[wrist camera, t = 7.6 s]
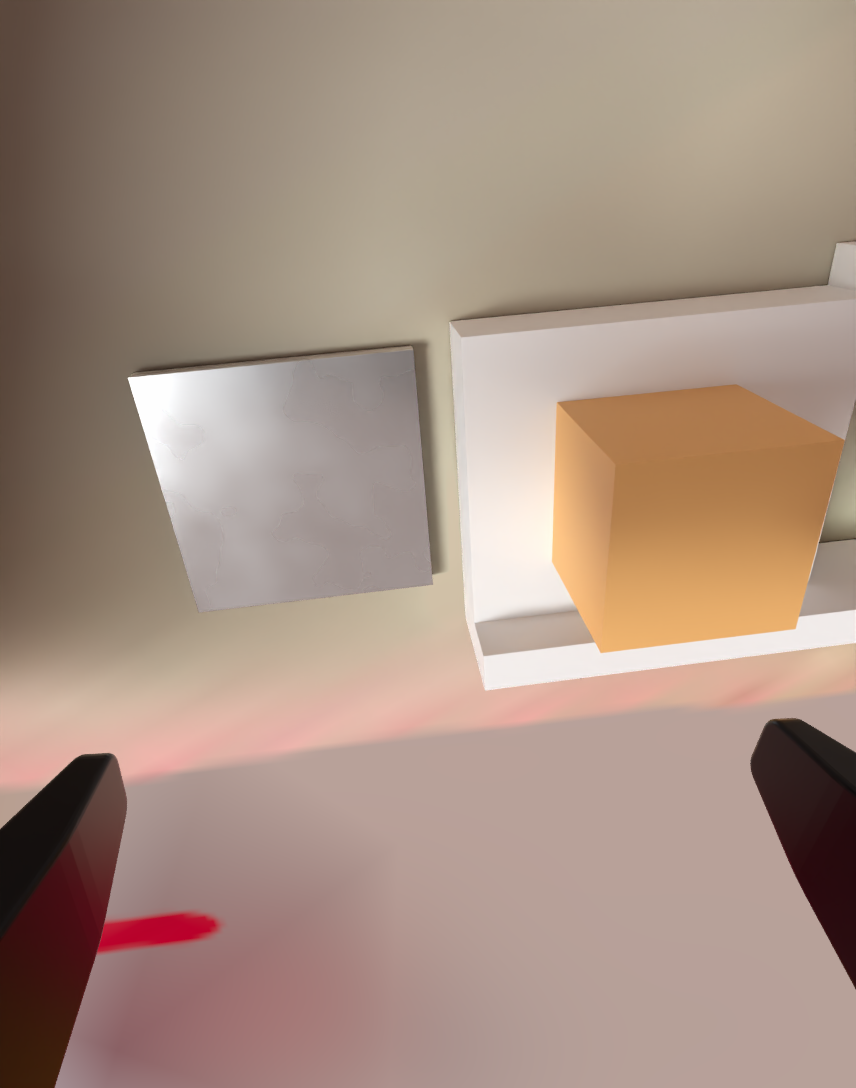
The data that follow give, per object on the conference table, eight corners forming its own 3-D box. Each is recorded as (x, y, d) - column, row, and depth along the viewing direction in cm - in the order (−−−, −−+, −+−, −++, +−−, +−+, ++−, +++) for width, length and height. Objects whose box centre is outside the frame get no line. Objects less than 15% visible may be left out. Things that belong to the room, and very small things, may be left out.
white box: (447, 279, 16) (469, 301, 13) (1119, 217, 17) (1289, 224, 14) (465, 616, 21) (484, 690, 18) (982, 553, 22) (1085, 613, 19)
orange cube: (556, 402, 16) (615, 464, 12) (736, 384, 16) (844, 440, 12) (551, 561, 18) (600, 653, 14) (709, 544, 18) (795, 629, 15)
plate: (133, 372, 16) (128, 377, 16) (411, 345, 17) (413, 349, 16) (202, 602, 20) (198, 612, 19) (430, 576, 20) (432, 584, 20)
